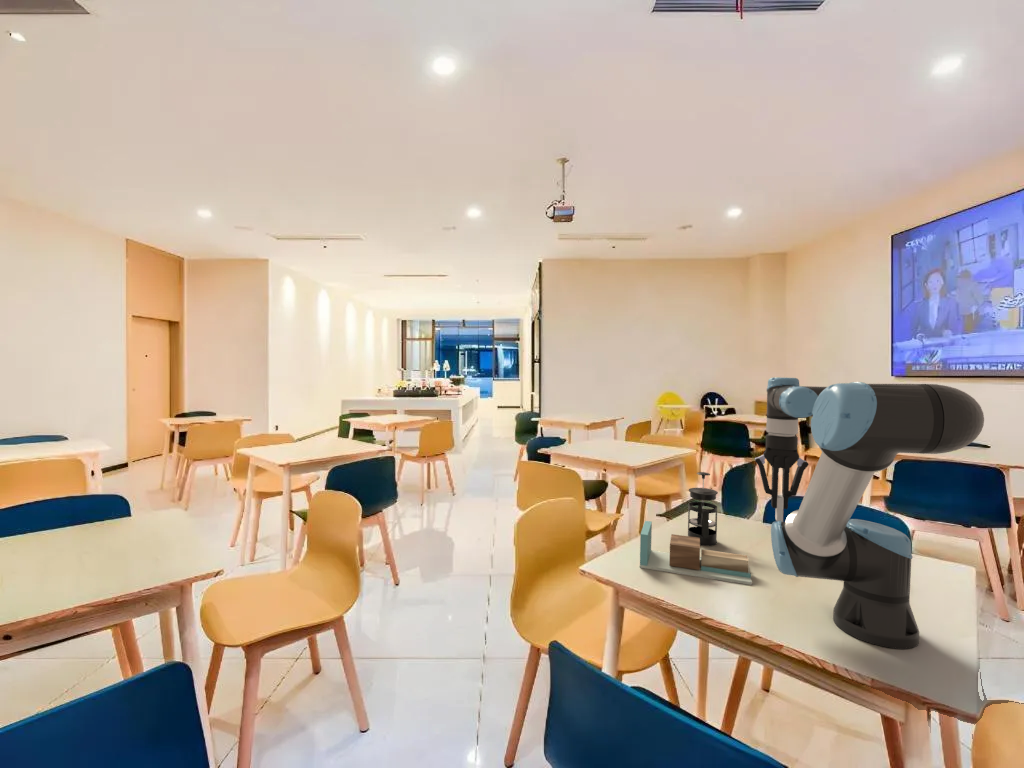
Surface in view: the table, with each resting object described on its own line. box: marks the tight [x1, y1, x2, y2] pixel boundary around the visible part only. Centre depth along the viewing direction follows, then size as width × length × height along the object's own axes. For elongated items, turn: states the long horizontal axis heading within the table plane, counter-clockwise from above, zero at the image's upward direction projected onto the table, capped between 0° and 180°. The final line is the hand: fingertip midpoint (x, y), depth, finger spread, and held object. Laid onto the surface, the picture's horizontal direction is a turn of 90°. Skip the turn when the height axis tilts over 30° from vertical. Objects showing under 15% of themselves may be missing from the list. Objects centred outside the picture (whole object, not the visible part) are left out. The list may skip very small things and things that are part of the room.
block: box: [669, 533, 701, 570], centre depth 139 cm, size 9×8×6 cm
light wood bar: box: [700, 548, 749, 573], centre depth 135 cm, size 4×12×4 cm, turn 69°
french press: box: [687, 471, 718, 547], centre depth 159 cm, size 12×9×23 cm
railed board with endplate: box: [639, 520, 753, 586], centre depth 138 cm, size 13×29×10 cm, turn 69°
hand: (779, 519), depth 130 cm, fingers closed
